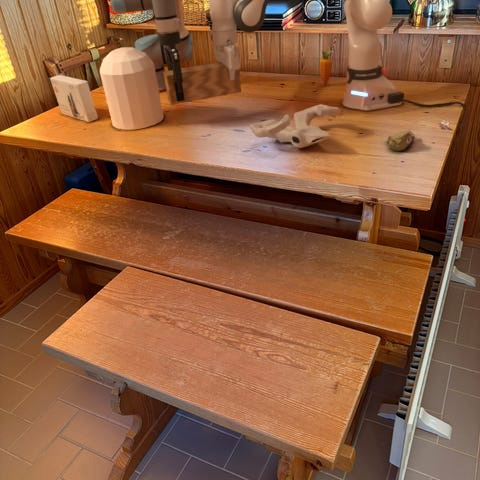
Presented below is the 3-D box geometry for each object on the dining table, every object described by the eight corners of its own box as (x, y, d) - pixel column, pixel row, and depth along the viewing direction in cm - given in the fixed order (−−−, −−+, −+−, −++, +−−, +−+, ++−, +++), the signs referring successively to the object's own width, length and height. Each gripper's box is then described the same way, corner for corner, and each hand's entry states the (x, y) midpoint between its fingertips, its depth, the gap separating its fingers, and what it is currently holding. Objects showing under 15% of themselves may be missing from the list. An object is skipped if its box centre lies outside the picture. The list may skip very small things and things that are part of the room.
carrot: (331, 83, 206) (332, 48, 198) (329, 87, 202) (330, 51, 194) (320, 83, 208) (321, 48, 199) (318, 87, 204) (319, 51, 195)
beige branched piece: (248, 155, 150) (245, 120, 144) (261, 127, 172) (259, 95, 165) (336, 156, 144) (338, 119, 138) (338, 126, 166) (340, 93, 159)
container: (119, 134, 177) (100, 57, 161) (107, 118, 193) (89, 47, 177) (170, 121, 183) (157, 47, 167) (155, 107, 199) (142, 38, 184)
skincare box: (60, 114, 202) (49, 77, 193) (71, 110, 206) (60, 74, 196) (87, 122, 190) (77, 83, 181) (98, 118, 194) (88, 80, 184)
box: (171, 105, 169) (166, 75, 163) (168, 100, 174) (163, 71, 168) (241, 92, 175) (239, 63, 169) (236, 87, 180) (233, 59, 174)
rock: (408, 140, 153) (379, 139, 152) (414, 122, 149) (384, 120, 148) (421, 154, 144) (391, 153, 143) (428, 135, 140) (396, 133, 139)
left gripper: (185, 34, 152) (195, 103, 165) (173, 25, 167) (182, 89, 180) (163, 37, 150) (174, 107, 163) (152, 28, 165) (163, 93, 178)
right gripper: (242, 41, 158) (245, 82, 166) (224, 32, 175) (228, 69, 182) (225, 44, 157) (229, 85, 165) (208, 34, 173) (213, 72, 181)
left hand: (178, 98), depth 172 cm, fingers closed on box, 6 cm apart
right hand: (228, 77), depth 174 cm, fingers closed on box, 6 cm apart
